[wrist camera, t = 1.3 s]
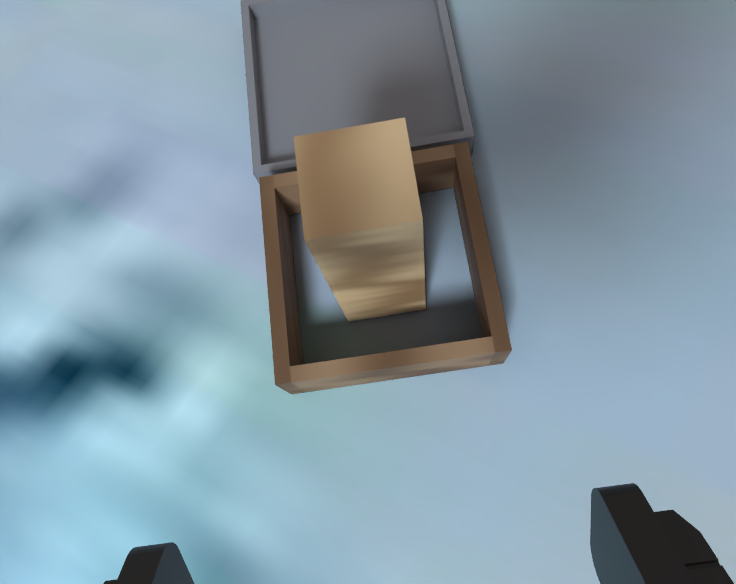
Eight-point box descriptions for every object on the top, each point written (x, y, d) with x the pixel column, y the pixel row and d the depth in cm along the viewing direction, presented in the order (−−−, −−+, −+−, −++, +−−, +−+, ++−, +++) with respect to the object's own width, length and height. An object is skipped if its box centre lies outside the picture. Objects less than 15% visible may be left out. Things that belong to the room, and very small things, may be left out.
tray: (436, -12, 39) (436, -37, 37) (472, 154, 35) (474, 136, 33) (249, 23, 40) (240, 0, 38) (262, 189, 36) (253, 173, 34)
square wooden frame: (464, 173, 34) (467, 141, 31) (503, 363, 31) (511, 349, 28) (275, 205, 35) (259, 177, 32) (291, 394, 32) (275, 384, 28)
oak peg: (414, 238, 34) (405, 117, 22) (425, 309, 32) (422, 220, 21) (339, 250, 34) (293, 136, 22) (348, 321, 32) (304, 239, 21)
